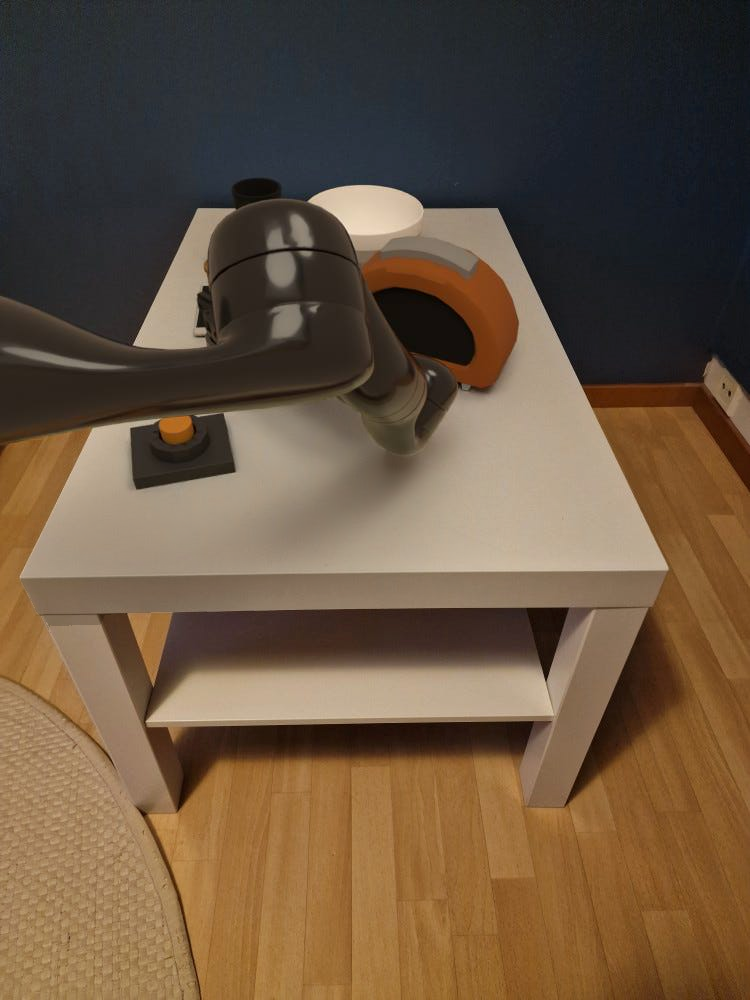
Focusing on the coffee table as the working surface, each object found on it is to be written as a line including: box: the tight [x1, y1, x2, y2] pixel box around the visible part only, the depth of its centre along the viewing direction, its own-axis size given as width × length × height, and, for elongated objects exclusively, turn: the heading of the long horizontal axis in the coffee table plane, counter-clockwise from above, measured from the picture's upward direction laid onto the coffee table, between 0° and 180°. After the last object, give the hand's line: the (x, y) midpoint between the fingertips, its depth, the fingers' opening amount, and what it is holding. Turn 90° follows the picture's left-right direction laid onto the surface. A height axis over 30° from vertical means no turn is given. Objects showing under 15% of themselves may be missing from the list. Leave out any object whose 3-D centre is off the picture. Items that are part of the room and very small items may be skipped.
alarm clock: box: [361, 235, 520, 391], centre depth 88 cm, size 23×9×17 cm, turn 66°
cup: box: [230, 177, 283, 210], centre depth 109 cm, size 8×8×12 cm
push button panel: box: [129, 412, 236, 490], centre depth 79 cm, size 11×9×4 cm
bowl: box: [307, 184, 425, 269], centre depth 111 cm, size 19×19×9 cm
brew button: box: [159, 416, 194, 444], centre depth 77 cm, size 4×4×2 cm
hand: (217, 291), depth 88 cm, fingers closed on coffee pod, 4 cm apart
